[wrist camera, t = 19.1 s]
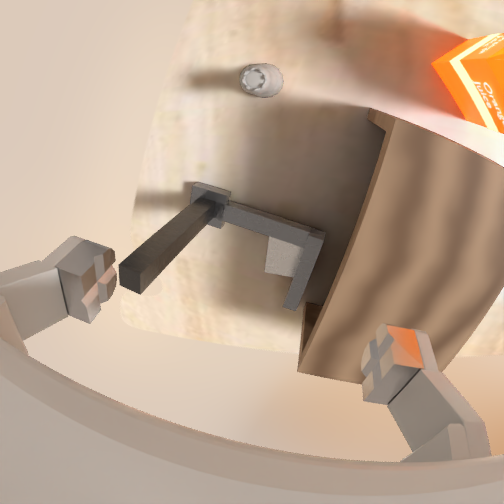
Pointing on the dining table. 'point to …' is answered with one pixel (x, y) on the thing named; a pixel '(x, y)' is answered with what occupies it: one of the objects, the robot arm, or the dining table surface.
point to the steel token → (282, 257)
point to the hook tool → (216, 214)
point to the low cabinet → (413, 253)
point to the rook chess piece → (261, 80)
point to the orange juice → (477, 79)
